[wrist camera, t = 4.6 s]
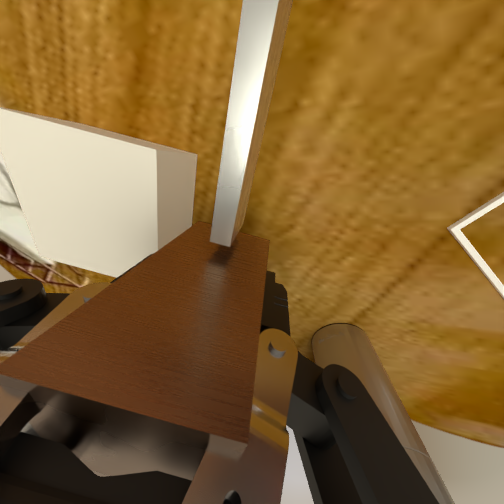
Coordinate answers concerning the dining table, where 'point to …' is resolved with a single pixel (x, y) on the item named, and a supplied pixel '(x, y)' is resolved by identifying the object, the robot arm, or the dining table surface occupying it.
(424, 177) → the dining table surface
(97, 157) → the plinth shelf
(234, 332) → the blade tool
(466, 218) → the photo frame
